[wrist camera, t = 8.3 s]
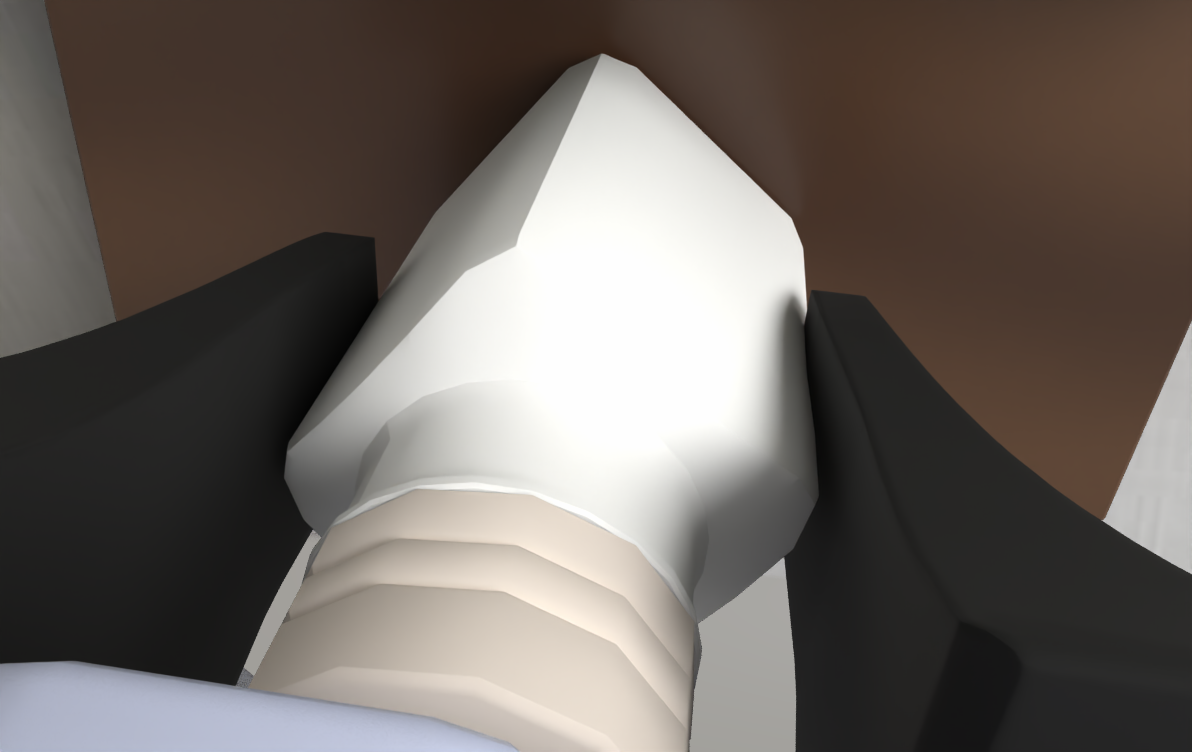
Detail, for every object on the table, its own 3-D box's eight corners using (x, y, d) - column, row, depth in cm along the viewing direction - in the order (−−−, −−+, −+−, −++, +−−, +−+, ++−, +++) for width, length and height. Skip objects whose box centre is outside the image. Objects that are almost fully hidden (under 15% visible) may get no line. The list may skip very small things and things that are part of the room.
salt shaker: (621, 392, 16) (484, 1056, 8) (420, 222, 15) (41, 803, 7) (820, 229, 14) (886, 890, 6) (607, 20, 13) (367, 512, 5)
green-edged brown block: (1054, 398, 19) (1178, 702, 13) (220, 294, 20) (4, 531, 15) (1286, -227, 14) (1669, -167, 8) (123, -316, 15) (-283, -322, 9)
